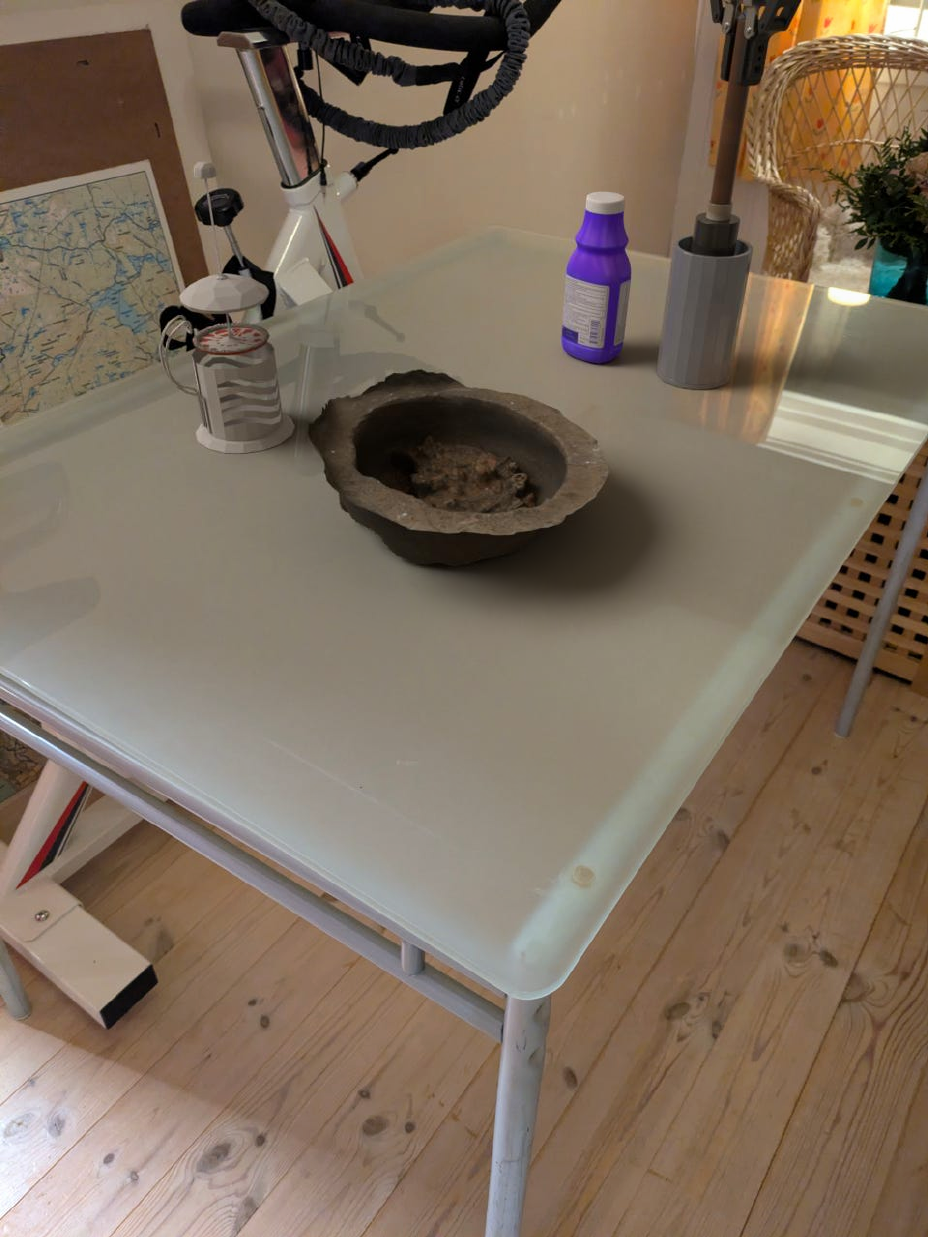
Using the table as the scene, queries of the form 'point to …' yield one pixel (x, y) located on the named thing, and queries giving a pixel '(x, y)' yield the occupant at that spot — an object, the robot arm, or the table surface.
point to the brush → (724, 169)
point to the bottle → (597, 282)
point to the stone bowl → (454, 466)
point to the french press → (231, 361)
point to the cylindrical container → (702, 315)
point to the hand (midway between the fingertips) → (739, 81)
